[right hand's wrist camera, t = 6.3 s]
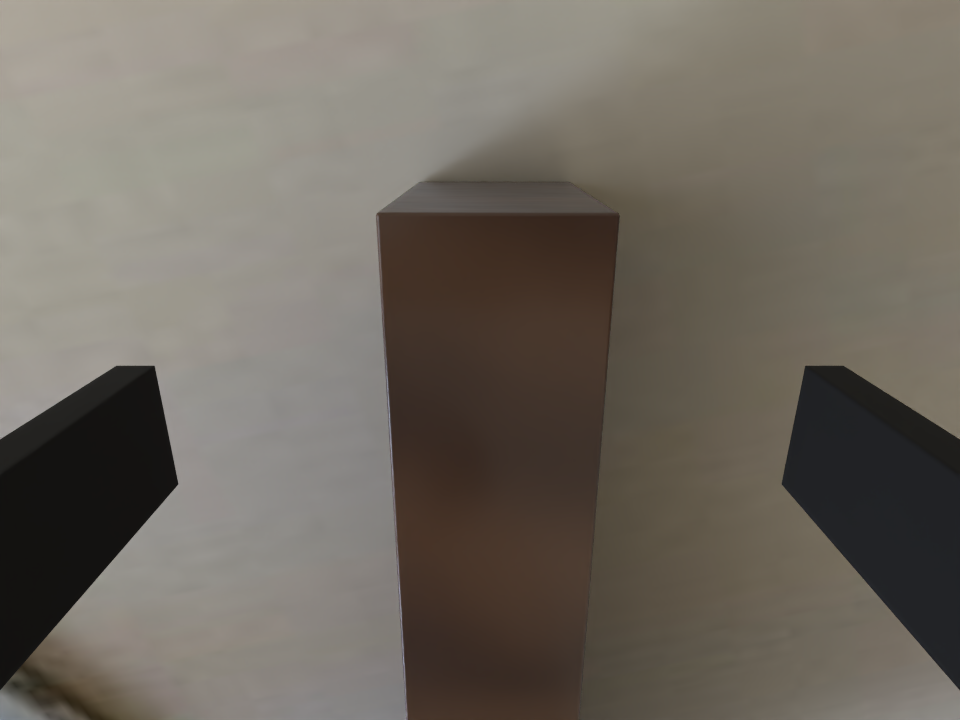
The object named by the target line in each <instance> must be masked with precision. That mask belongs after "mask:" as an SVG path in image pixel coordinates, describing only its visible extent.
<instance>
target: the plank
mask: <svg viewBox="0 0 960 720" xmlns="http://www.w3.org/2000/svg"><path fill="white" fill-rule="evenodd" d="M619 217H620V216H619V213H617V212H615V211H614V210H612V209H611V208H609V207H608V206H606V205H604V204H603V203H601V202H600V201H598V200H597V199H595V198H593V197H592V196H590V195H589V194H587V193H586V192H584V191H582V190H581V189H579V188H578V187H576V186H575V185H573V184H572V183H570V182H419V183H418V184H416V185H415V186H414V187H412V188H411V189H409V190H408V191H407V192H405V193H404V194H403V195H401V196H400V197H399V198H397V199H396V200H394V201H393V202H392V203H390V204H389V205H388V206H386V207H385V208H383V209H382V210H381V211H379V212H378V213H377V215H376V222H377V238H378V255H379V272H380V288H381V305H382V322H383V338H384V355H385V372H386V388H387V405H388V422H389V438H390V455H391V471H392V488H393V505H394V521H395V538H396V555H397V571H398V588H399V605H400V621H401V638H402V655H403V671H404V688H405V705H406V720H579V715H580V703H581V690H582V678H583V665H584V653H585V640H586V628H587V615H588V603H589V591H590V578H591V566H592V553H593V541H594V528H595V516H596V503H597V491H598V479H599V466H600V454H601V441H602V429H603V416H604V404H605V391H606V379H607V367H608V354H609V342H610V329H611V317H612V304H613V292H614V279H615V267H616V255H617V242H618V230H619Z"/></svg>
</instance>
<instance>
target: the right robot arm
mask: <svg viewBox="0 0 960 720" xmlns="http://www.w3.org/2000/svg"><path fill="white" fill-rule="evenodd" d="M177 485H178V480H177V475H176V470H175V465H174V460H173V455H172V450H171V445H170V440H169V435H168V430H167V425H166V420H165V415H164V410H163V405H162V401H161V396H160V391H159V386H158V381H157V376H156V371H155V366H116V367H114V368H112V369H111V370H109V371H108V372H106V373H104V374H103V375H101V376H100V377H98V378H97V379H95V380H93V381H92V382H90V383H89V384H87V385H86V386H84V387H82V388H81V389H79V390H78V391H76V392H74V393H73V394H71V395H70V396H68V397H67V398H65V399H63V400H62V401H60V402H59V403H57V404H56V405H54V406H52V407H51V408H49V409H48V410H46V411H44V412H43V413H41V414H40V415H38V416H37V417H35V418H33V419H32V420H30V421H29V422H27V423H26V424H24V425H22V426H21V427H19V428H18V429H16V430H14V431H13V432H11V433H10V434H8V435H7V436H5V437H3V438H2V439H0V690H1V689H2V687H3V686H4V685H5V684H6V683H7V682H8V680H9V679H10V678H11V677H12V676H13V675H14V674H15V672H16V671H17V670H18V669H19V668H20V667H21V665H22V664H23V663H24V662H25V661H26V660H27V659H28V657H29V656H30V655H31V654H32V653H33V652H34V650H35V649H36V648H37V647H38V646H39V645H40V643H41V642H42V641H43V640H44V639H45V638H46V637H47V635H48V634H49V633H50V632H51V631H52V630H53V628H54V627H55V626H56V625H57V624H58V623H59V622H60V620H61V619H62V618H63V617H64V616H65V615H66V613H67V612H68V611H69V610H70V609H71V608H72V607H73V605H74V604H75V603H76V602H77V601H78V600H79V598H80V597H81V596H82V595H83V594H84V593H85V592H86V590H87V589H88V588H89V587H90V586H91V585H92V583H93V582H94V581H95V580H96V579H97V578H98V576H99V575H100V574H101V573H102V572H103V571H104V570H105V568H106V567H107V566H108V565H109V564H110V563H111V561H112V560H113V559H114V558H115V557H116V556H117V555H118V553H119V552H120V551H121V550H122V549H123V548H124V546H125V545H126V544H127V543H128V542H129V541H130V540H131V538H132V537H133V536H134V535H135V534H136V533H137V531H138V530H139V529H140V528H141V527H142V526H143V524H144V523H145V522H146V521H147V520H148V519H149V518H150V516H151V515H152V514H153V513H154V512H155V511H156V509H157V508H158V507H159V506H160V505H161V504H162V503H163V501H164V500H165V499H166V498H167V497H168V496H169V494H170V493H171V492H172V491H173V490H174V489H175V488H176V486H177ZM782 485H783V486H784V488H785V489H786V490H787V491H788V492H789V493H790V494H791V496H792V497H793V498H794V499H795V500H796V501H797V503H798V504H799V505H800V506H801V507H802V508H803V509H804V511H805V512H806V513H807V514H808V515H809V516H810V518H811V519H812V520H813V521H814V522H815V523H816V524H817V526H818V527H819V528H820V529H821V530H822V531H823V533H824V534H825V535H826V536H827V537H828V538H829V540H830V541H831V542H832V543H833V544H834V545H835V546H836V548H837V549H838V550H839V551H840V552H841V553H842V555H843V556H844V557H845V558H846V559H847V560H848V561H849V563H850V564H851V565H852V566H853V567H854V568H855V570H856V571H857V572H858V573H859V574H860V575H861V576H862V578H863V579H864V580H865V581H866V582H867V583H868V585H869V586H870V587H871V588H872V589H873V590H874V592H875V593H876V594H877V595H878V596H879V597H880V598H881V600H882V601H883V602H884V603H885V604H886V605H887V607H888V608H889V609H890V610H891V611H892V612H893V613H894V615H895V616H896V617H897V618H898V619H899V620H900V622H901V623H902V624H903V625H904V626H905V627H906V628H907V630H908V631H909V632H910V633H911V634H912V635H913V637H914V638H915V639H916V640H917V641H918V642H919V643H920V645H921V646H922V647H923V648H924V649H925V650H926V652H927V653H928V654H929V655H930V656H931V657H932V659H933V660H934V661H935V662H936V663H937V664H938V665H939V667H940V668H941V669H942V670H943V671H944V672H945V674H946V675H947V676H948V677H949V678H950V679H951V680H952V682H953V683H954V684H955V685H956V686H957V687H958V689H959V690H960V439H958V438H957V437H955V436H953V435H952V434H950V433H949V432H947V431H946V430H944V429H942V428H941V427H939V426H938V425H936V424H934V423H933V422H931V421H930V420H928V419H927V418H925V417H923V416H922V415H920V414H919V413H917V412H916V411H914V410H912V409H911V408H909V407H908V406H906V405H904V404H903V403H901V402H900V401H898V400H897V399H895V398H893V397H892V396H890V395H889V394H887V393H886V392H884V391H882V390H881V389H879V388H878V387H876V386H874V385H873V384H871V383H870V382H868V381H867V380H865V379H863V378H862V377H860V376H859V375H857V374H856V373H854V372H852V371H851V370H849V369H848V368H846V367H844V366H805V371H804V376H803V381H802V386H801V391H800V396H799V401H798V405H797V410H796V415H795V420H794V425H793V430H792V435H791V440H790V445H789V450H788V455H787V460H786V465H785V470H784V475H783V480H782Z"/></svg>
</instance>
